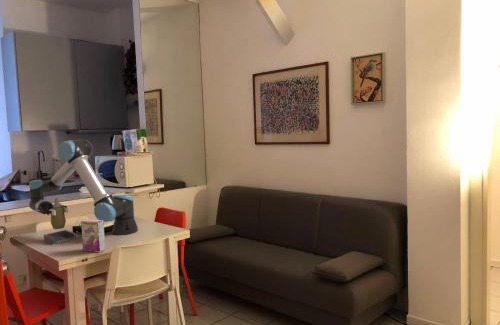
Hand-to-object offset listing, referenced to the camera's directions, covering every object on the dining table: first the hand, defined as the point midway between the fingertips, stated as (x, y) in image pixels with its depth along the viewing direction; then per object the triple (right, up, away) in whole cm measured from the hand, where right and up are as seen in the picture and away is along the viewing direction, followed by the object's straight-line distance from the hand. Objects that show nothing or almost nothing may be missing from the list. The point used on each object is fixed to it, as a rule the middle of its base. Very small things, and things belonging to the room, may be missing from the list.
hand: (61, 211), depth 243 cm
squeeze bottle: (-3, -10, +5) cm, 12 cm away
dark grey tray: (-3, -17, +5) cm, 18 cm away
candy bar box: (+26, -19, -17) cm, 36 cm away
